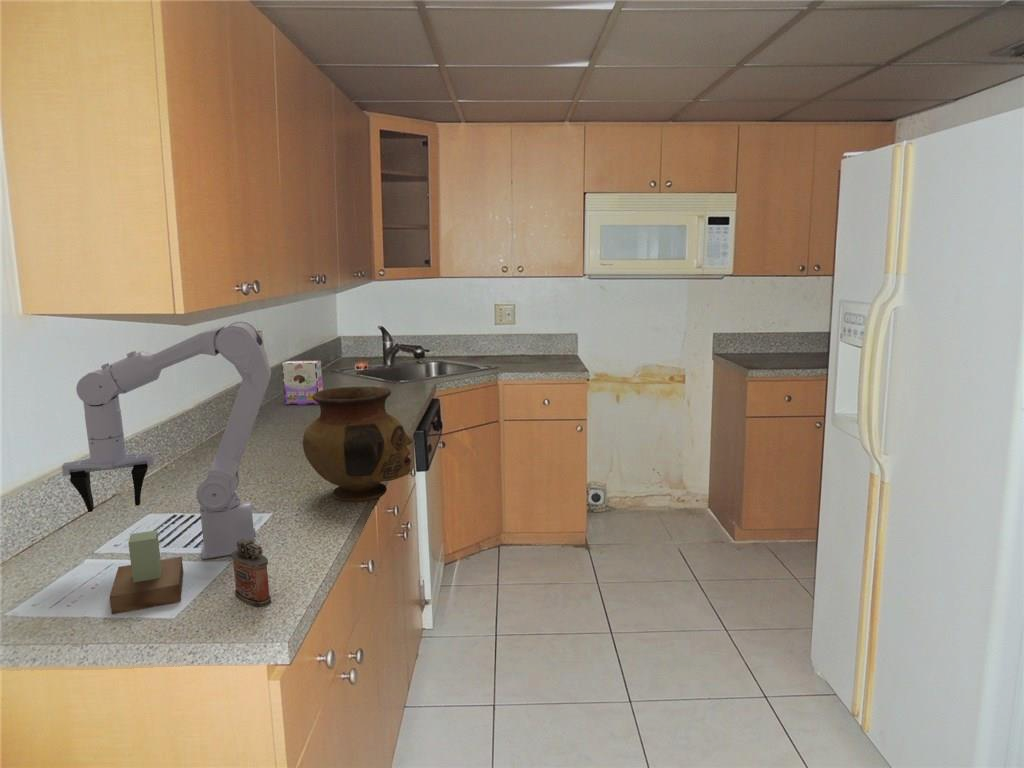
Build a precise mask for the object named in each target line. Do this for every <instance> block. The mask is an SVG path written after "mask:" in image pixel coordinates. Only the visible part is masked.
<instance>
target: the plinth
mask: <svg viewBox="0 0 1024 768" xmlns="http://www.w3.org/2000/svg"><path fill="white" fill-rule="evenodd" d="M161 568H162V569H161V576H160V578H157V579H151V580H146V581H140V582H134V583H133V577H132V569H131V564H127V565H123V566H118V568H117V570H116V573H115V577H114V581H113V583H112V587H111V589H110V590H111V591H110V593H109V596H108V597H109V602H110V603H109V606H110V610H111V612H110V613H111V615H114V614H115V615H116V614H120V613H126V612H130V611H137V610H142V609H148V608H153V607H158V606H164V605H169V604H174V603H180V602H182V592H183V582H184V581H183V580H184V565H183V556H177V557H170V558H164V559H161Z"/></svg>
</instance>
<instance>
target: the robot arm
mask: <svg viewBox="0 0 1024 768" xmlns="http://www.w3.org/2000/svg"><path fill="white" fill-rule="evenodd" d="M264 342H265V341H264V339H263V337H262V335H260V333H259V332H258V330H257V329H256V328H255V327H254V326H253V325H252V324H250V323H248V322H246V321H243V320H242V321H241V320H240V321H234V322H233V323H231V324H229V325H228V326H226V325H223V326H218V327H214V328H211V329H208V330H204V331H201V332H200V333H199V332H198V333H197V334H195V335H193V336H191V337H188V338H186V339H185V340H182V341H180V342H178V343H175V344H173V345H171V346H170V347H167V348H164V349H162V350H161V351H158V352H155V353H150V352H148V351H144V350H141V351H139V352H137V350H132V351H130V352H129V353H126V356H127V357H125V358H122V359H120V360H118V361H115V362H113V363H111V364H109V363H108V362H107V363H104V364H102V365H101V366H100V368H101V369H96V370H94V371H92V372H88V373H87V374H85V375H84V376H82V377H81V378H80V379H79V380H78V382H77V384H76V394H77V396H78V398H79V399H80V400H81V401H82V402H83V409H84V410H83V411H84V420H85V427H86V428H85V429H86V435H87V442H88V450H89V457H90V458H87V459H82V460H76V461H70V462H63V463H62V465H61V469H62V476H63V477H64V476H67V477H68V476H70V478H69V481H70V484H71V485H72V486H73V487H74V488H75V490H76V491H77V492H78V493H79V495H80V497H81V498H82V501H83V502H84V504H85V507H86V510H87V513H92V512H93V511H94V508H95V502H94V498H93V494H92V493H93V492H92V486H91V485H92V484H91V473H92V472H101V471H109V470H110V471H111V470H118V469H126V468H127V469H128V468H132V469H131V470H130V471H131V478H132V482H133V483H132V484H133V491H134V494H133V495H134V504H135V507H138V506H140V505H141V496H142V488H143V484H144V481H145V477H146V474H147V471H148V468H149V467H152V466H153V467H154V465H155V458H154V452H151V453H150V452H149V453H131V454H130V453H129V454H127V449H126V443H125V435H124V427H123V419H122V418H123V417H122V410H121V405H120V404H121V403H120V397H119V395H120V394H121V395H124V394H127V393H130V392H131V391H134V390H136V389H138V388H141V387H143V386H145V385H148V384H151V383H152V382H154V381H157V380H158V379H159V378H160V374H161V372H162V370H164V369H166V368H169V367H172V366H174V365H176V364H179V363H181V362H184V361H186V360H189V359H192V358H193V357H197V356H198V355H208V356H213V357H217V356H218V354H220V355H221V356H222V357H223V358H224V359H225V360H227V361H228V362H230V364H232V365H233V366H234V367H235V370H237V372H238V374H239V375H240V377H241V378H242V379H241V380H242V381H241V384H240V386H239V389H238V392H237V395H236V397H235V400H234V403H233V406H232V409H231V412H230V415H229V416H228V417H229V418H228V421H227V423H226V426H225V429H224V430H223V431H224V432H223V435H222V437H221V441H220V442H219V446H218V449H217V452H216V454H215V457H214V459H213V462H212V464H211V467H210V468H209V470H208V471H207V472H206V474H205V477H204V478H203V480H202V482H200V483H199V485H198V487H197V489H196V494H195V496H196V500H197V503H198V504H199V512H200V513H199V515H200V523H201V531H202V540H203V541H202V543H201V559H202V560H206V559H207V560H208V559H212V558H221V557H225V556H231V553H232V552H233V551H236V550H238V547H237V541H238V540H240V539H243V540H246V541H247V540H250V539H251V540H252V541H253V543H254V544H256V539H255V538H256V537H257V531H256V527H255V528H254V519H253V509H252V501H251V500H245V501H242V500H241V498H240V497H239V496H238V494H237V492H236V490H237V489H238V487H239V484H240V476H239V470H240V467H241V466H240V465H241V462H242V458H243V456H244V453H245V450H246V448H247V444H248V442H249V439H250V436H251V433H252V430H253V427H254V425H255V422H256V420H257V416H258V414H259V411H260V408H261V405H262V402H263V399H264V396H265V394H266V391H267V388H268V386H269V382H270V379H271V375H272V369H271V366H270V363H269V359H268V356H267V352H266V349H265V343H264Z"/></svg>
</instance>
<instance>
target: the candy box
mask: <svg viewBox="0 0 1024 768" xmlns="http://www.w3.org/2000/svg"><path fill="white" fill-rule="evenodd" d="M281 373H282V384H283V393H284V405H285V404H297V405H319V403H318V402H316V401H315V400H314V399H313V397H312V396H313V395H314V394H315V393H316V392H319V391H321V390H324V386H323V372H322V360H288V361H284V362H282V363H281Z"/></svg>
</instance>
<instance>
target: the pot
mask: <svg viewBox="0 0 1024 768" xmlns="http://www.w3.org/2000/svg"><path fill="white" fill-rule="evenodd" d="M391 394H392V392H391V389H389V388H387V387H380V386H345V387H342V386H341V387H334V388H325V389H323V390H321V391H319V392H316V393H315V394H314V395H313V396H312V397H313V399H314V400H315V401H316V402H318V403H319V404H318V405H319V408H320V415H319V417H317V418H315V419H314V420H313V421H311V423H309V425H308V426H307V427H306V428H305V430H304V433H303V437H302V447H303V453H304V455H305V458H306V460H307V461H308V463H309V465H310V466H311V467H312V468H313V470H314V471H315V472H316V474H318V475H319V476H321V478H322V479H324V480H325V481H327V482H328V483H330V484H332V485H335V486H338V487H335V488H334V489H333V490H332V495H333V497H334V498H335V499H336V500H338V501H342V502H347V503H359V502H369V501H372V500H376V499H378V498H381V497H382V496H384V495H385V494H386V492H387V490H388V489H387V486H386V485H385V484H383V482H384V483H385V482H390V481H394V480H397V479H400V478H403V477H405V476H407V475H409V474H410V473H411V469H412V468H411V464H412V463H411V462H412V458H410V457H409V456H410V455H411V450H410V449H409V448H408V447H407V446H410V445H411V444H413V442H414V440H413V439H412V438H411V436H409V435H408V434H407V432H406V431H405V430H404V425H403V424H402V423H401V421H400V420H398V419H397V418H396V417H394V416H392V415H391V414H389V413H388V412H387V410H386V400H387V398H388V397H390V396H391Z"/></svg>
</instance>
